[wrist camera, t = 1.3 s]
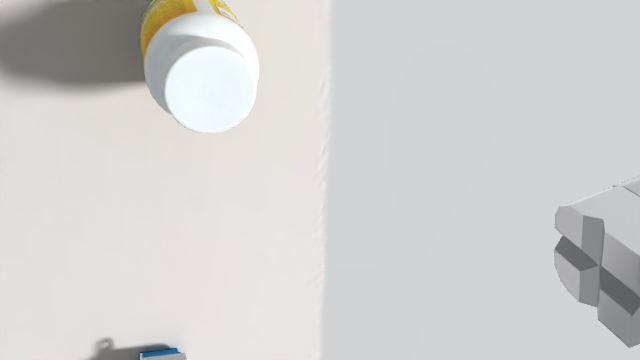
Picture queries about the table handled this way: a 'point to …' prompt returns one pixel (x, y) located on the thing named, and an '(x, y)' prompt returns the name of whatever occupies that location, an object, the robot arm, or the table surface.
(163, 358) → the electric motor
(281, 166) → the table surface
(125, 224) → the table surface
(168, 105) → the supplement bottle
